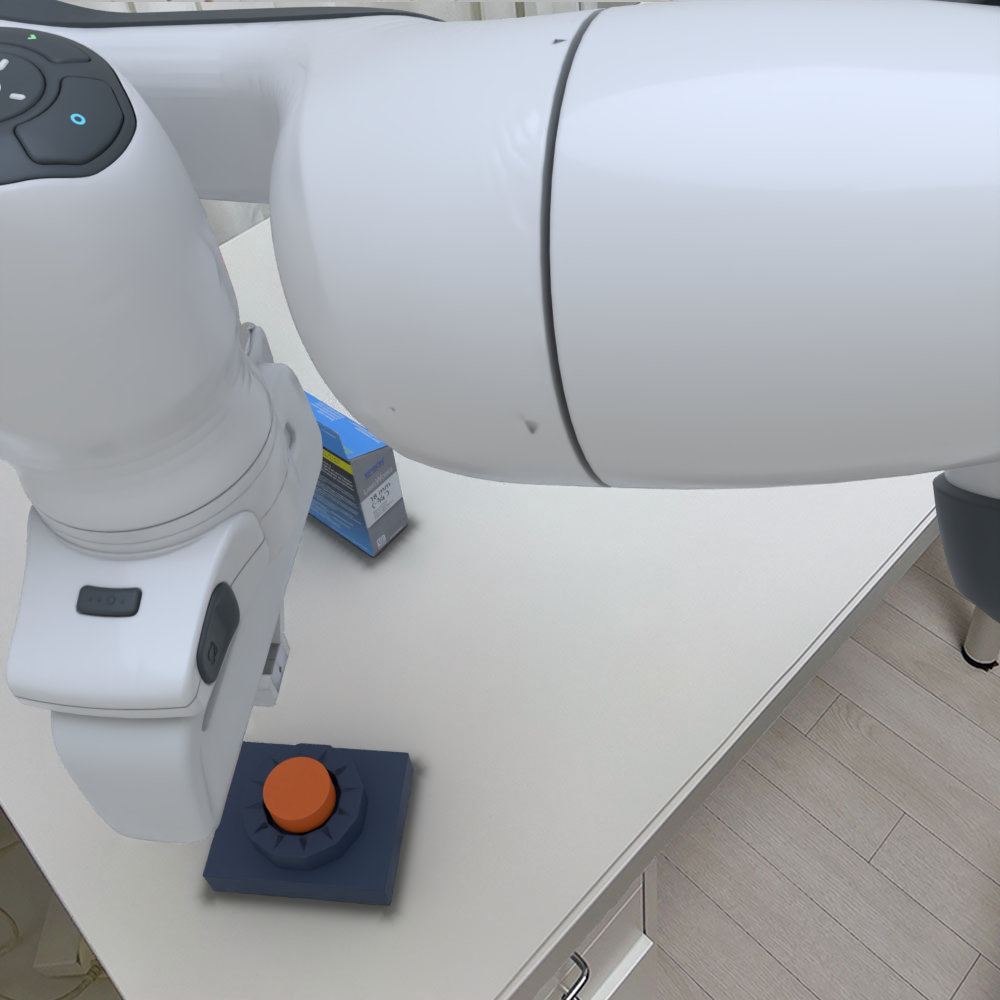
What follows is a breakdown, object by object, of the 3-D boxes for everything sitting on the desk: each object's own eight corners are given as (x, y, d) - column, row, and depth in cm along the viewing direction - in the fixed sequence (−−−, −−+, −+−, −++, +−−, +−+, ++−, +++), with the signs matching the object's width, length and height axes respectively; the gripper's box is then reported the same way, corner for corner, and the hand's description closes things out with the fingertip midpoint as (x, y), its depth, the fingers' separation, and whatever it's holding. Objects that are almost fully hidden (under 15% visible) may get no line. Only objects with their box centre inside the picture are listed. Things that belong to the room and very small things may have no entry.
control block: (413, 769, 65) (404, 737, 61) (390, 906, 60) (378, 878, 56) (249, 757, 66) (232, 725, 63) (213, 890, 61) (192, 863, 58)
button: (342, 773, 61) (336, 758, 59) (328, 835, 59) (322, 822, 57) (279, 768, 61) (271, 754, 60) (263, 830, 59) (255, 817, 58)
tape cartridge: (413, 524, 76) (385, 398, 67) (373, 560, 75) (339, 436, 65) (324, 466, 80) (287, 339, 71) (285, 499, 79) (241, 374, 69)
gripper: (175, 297, 47) (257, 501, 58) (-20, 729, 34) (131, 889, 45) (318, 299, 46) (374, 506, 57) (172, 742, 34) (280, 902, 44)
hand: (266, 678), depth 51 cm, fingers closed
